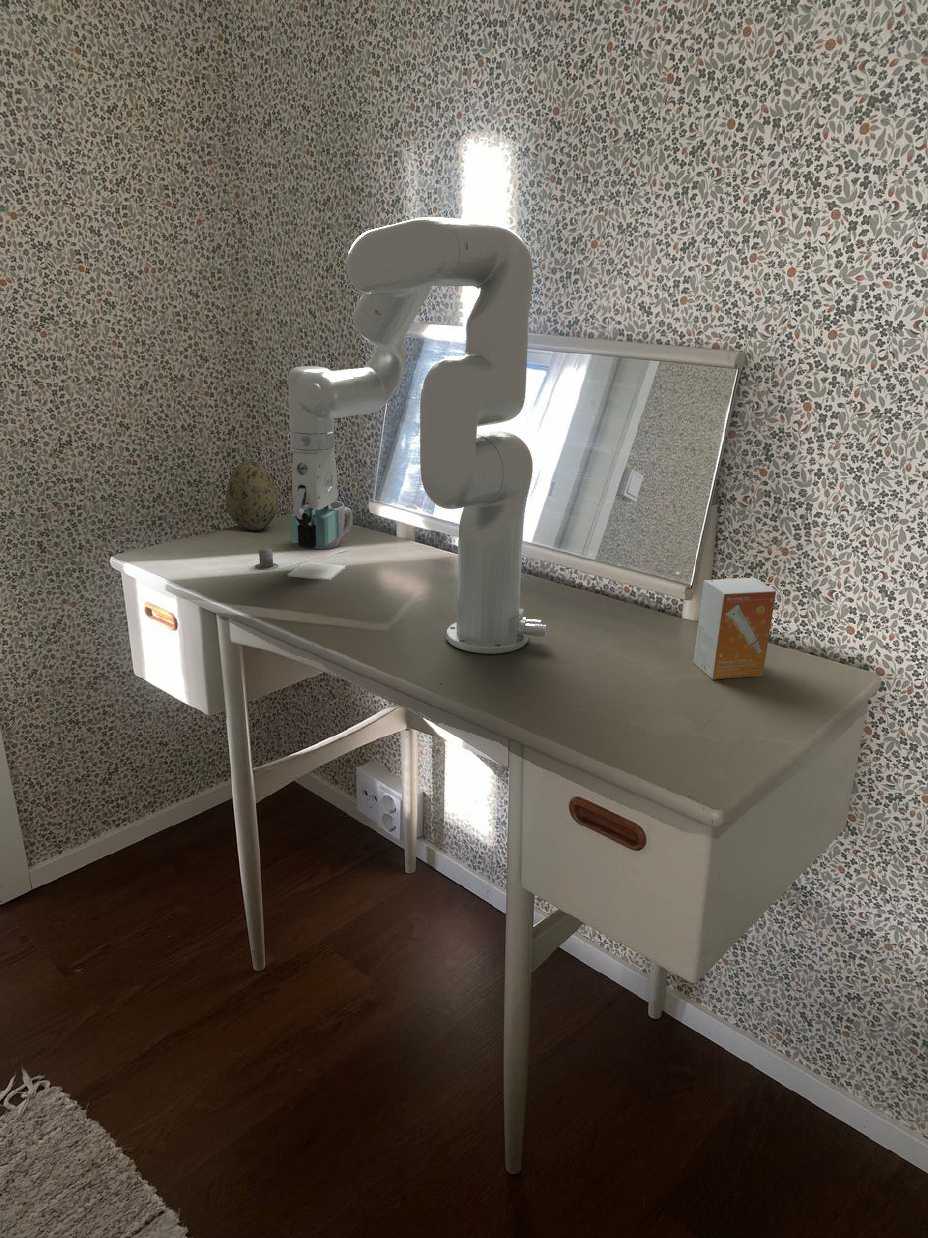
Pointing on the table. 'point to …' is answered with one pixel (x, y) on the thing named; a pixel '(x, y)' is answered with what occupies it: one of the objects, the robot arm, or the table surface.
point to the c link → (319, 526)
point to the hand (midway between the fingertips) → (315, 540)
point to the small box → (734, 627)
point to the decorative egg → (251, 496)
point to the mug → (339, 523)
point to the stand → (266, 560)
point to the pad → (317, 571)
